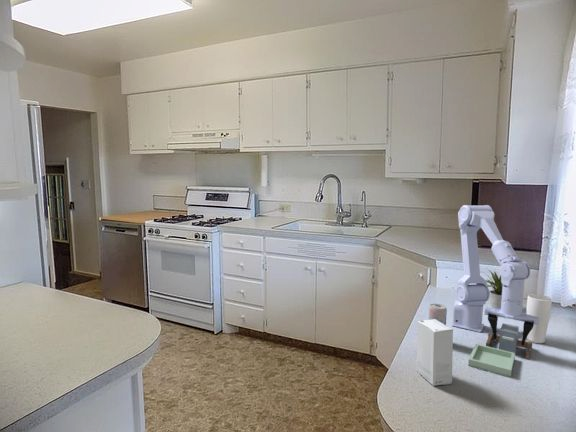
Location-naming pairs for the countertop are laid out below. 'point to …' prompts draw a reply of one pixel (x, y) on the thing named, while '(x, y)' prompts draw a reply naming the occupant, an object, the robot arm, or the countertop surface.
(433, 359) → the skincare box
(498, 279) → the house plant
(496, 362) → the tray
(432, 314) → the energy drink
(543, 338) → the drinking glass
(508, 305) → the robot arm
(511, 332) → the grey box with handle
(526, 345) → the frame
